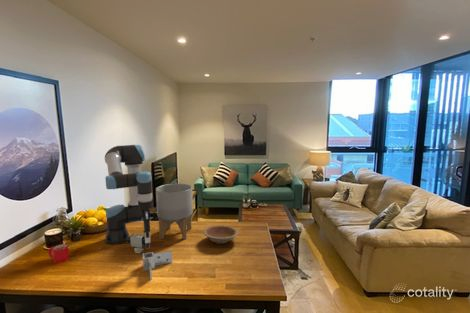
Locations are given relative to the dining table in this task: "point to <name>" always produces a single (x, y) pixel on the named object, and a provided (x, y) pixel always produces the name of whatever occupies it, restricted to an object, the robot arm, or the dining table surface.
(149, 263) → the hinge leaves
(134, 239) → the pneumatic valve
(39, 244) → the dining table surface
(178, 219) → the planter
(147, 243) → the pin
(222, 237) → the bowl
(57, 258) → the mug
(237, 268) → the dining table surface
